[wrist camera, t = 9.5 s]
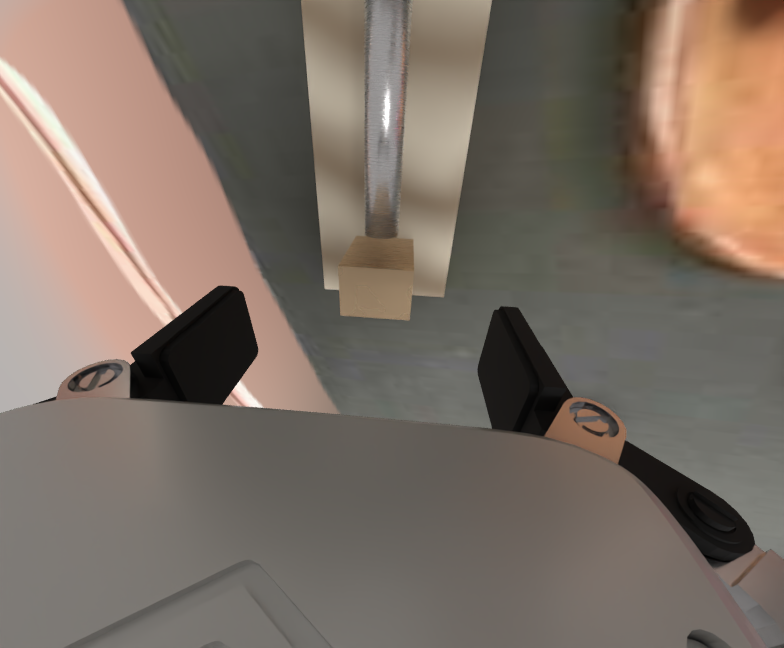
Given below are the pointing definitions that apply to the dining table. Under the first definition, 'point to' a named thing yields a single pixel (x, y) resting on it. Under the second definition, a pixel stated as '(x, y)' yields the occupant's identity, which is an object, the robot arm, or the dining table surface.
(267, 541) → the robot arm
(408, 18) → the peg
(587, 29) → the dining table surface
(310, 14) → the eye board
